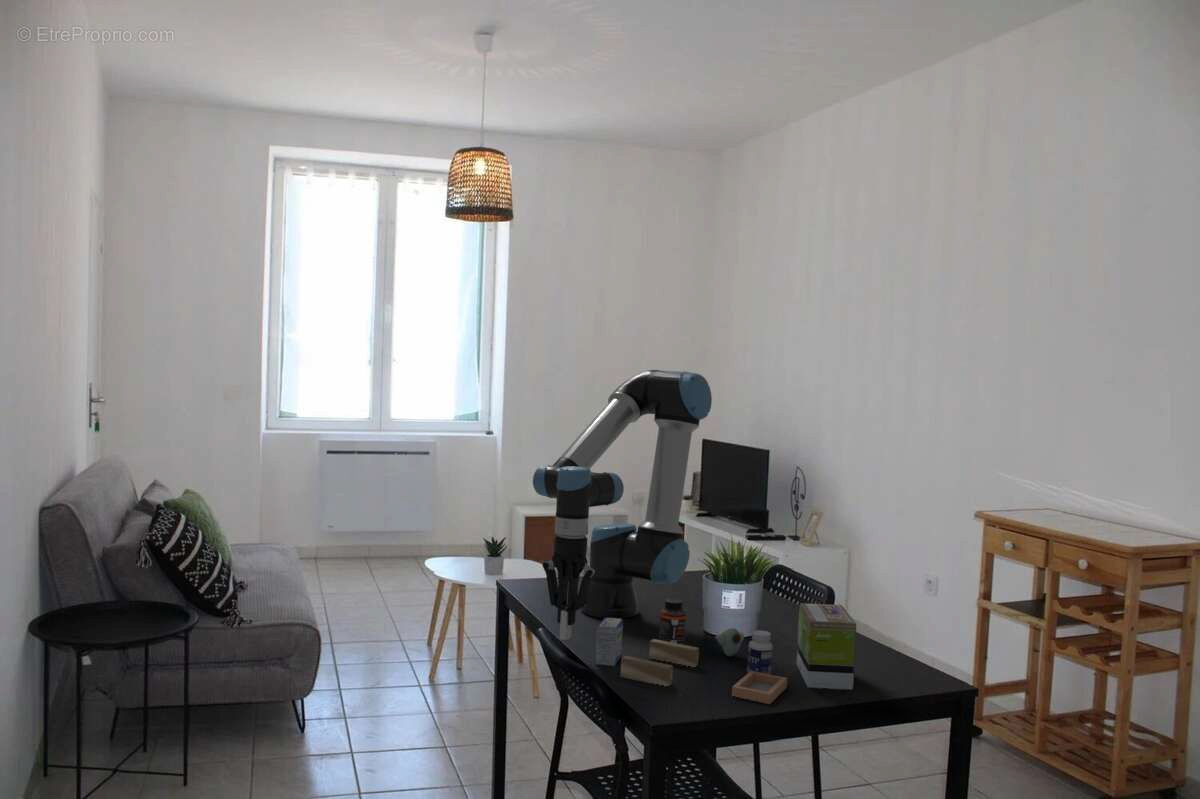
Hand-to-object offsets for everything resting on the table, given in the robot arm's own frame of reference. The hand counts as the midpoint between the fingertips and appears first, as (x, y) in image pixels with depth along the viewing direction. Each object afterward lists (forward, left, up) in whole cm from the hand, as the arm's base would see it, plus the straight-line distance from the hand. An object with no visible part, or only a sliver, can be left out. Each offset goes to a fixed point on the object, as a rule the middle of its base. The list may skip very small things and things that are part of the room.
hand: (565, 638), depth 229 cm
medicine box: (0, +11, -3) cm, 12 cm away
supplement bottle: (-17, +19, -3) cm, 26 cm away
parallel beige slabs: (0, +24, -3) cm, 24 cm away
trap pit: (0, +46, -3) cm, 46 cm away
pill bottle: (-12, +42, -3) cm, 44 cm away
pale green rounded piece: (-19, +33, -3) cm, 38 cm away
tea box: (-17, +55, -3) cm, 58 cm away
